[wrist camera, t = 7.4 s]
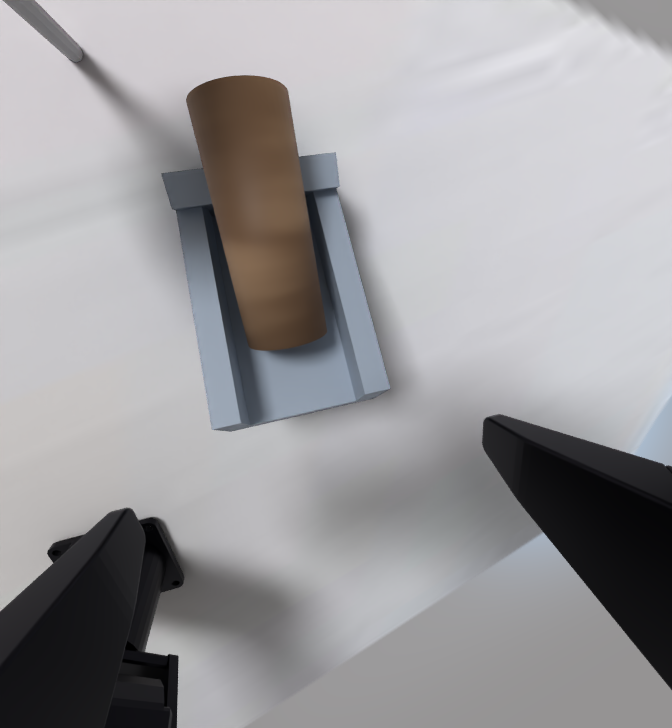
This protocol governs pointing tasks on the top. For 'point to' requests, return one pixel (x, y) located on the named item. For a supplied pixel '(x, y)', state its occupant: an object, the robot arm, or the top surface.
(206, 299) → the cradle
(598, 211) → the top surface
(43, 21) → the lollipop
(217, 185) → the peg
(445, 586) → the top surface
